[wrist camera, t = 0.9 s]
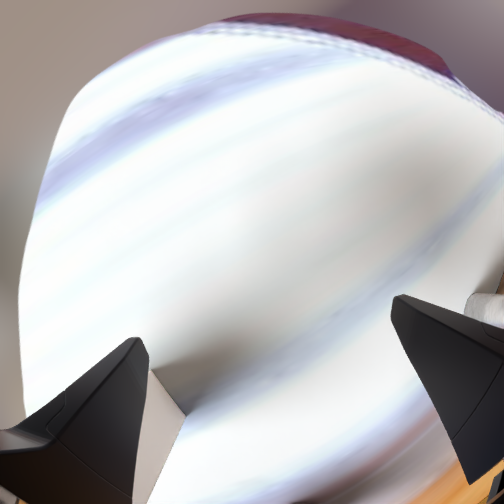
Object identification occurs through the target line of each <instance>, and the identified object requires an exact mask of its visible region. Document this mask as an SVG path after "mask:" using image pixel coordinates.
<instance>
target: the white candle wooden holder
mask: <svg viewBox="0 0 504 504" xmlns="http://www.w3.org/2000/svg"><path fill="white" fill-rule="evenodd" d="M496 294H504V273H503V276H502V279H501V282H500V285H499V287H498V290H497V292H496Z"/></svg>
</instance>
